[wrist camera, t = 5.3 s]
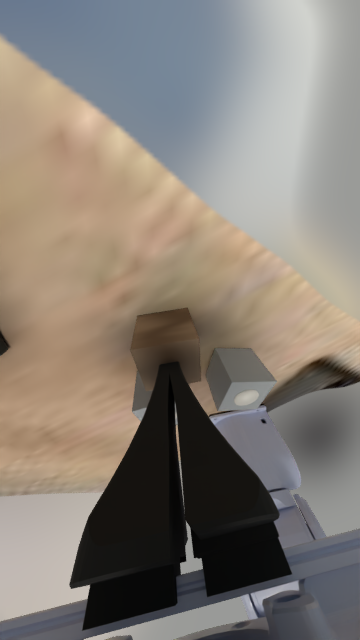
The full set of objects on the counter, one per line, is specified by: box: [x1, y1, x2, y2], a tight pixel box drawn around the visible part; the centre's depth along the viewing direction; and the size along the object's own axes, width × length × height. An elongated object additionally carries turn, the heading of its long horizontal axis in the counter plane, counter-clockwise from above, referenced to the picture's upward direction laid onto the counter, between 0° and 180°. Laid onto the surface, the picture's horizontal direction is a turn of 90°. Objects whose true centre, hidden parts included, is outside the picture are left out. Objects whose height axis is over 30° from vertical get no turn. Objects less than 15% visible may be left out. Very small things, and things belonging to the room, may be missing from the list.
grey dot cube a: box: [132, 371, 178, 425], centre depth 16 cm, size 4×4×5 cm
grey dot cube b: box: [206, 348, 277, 411], centre depth 16 cm, size 4×4×5 cm
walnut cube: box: [130, 308, 201, 391], centre depth 13 cm, size 4×4×4 cm
